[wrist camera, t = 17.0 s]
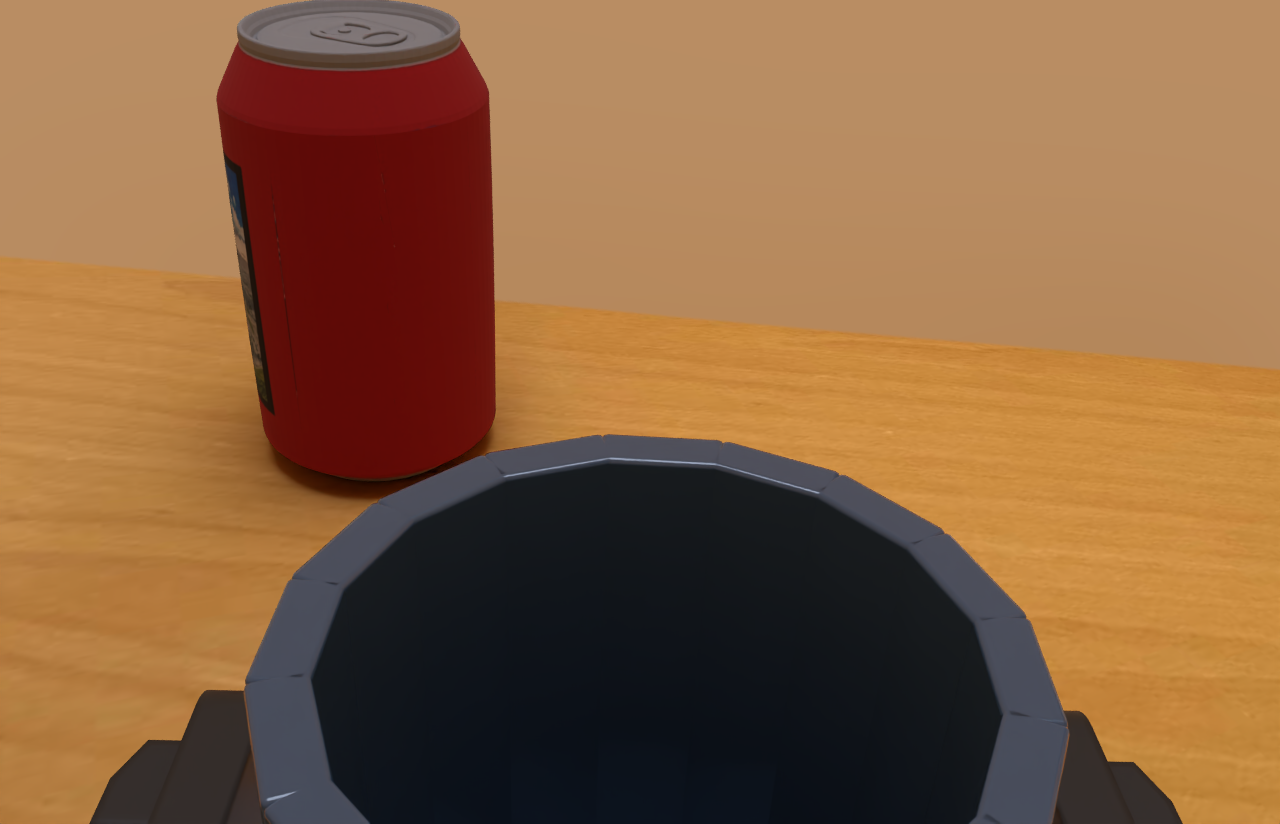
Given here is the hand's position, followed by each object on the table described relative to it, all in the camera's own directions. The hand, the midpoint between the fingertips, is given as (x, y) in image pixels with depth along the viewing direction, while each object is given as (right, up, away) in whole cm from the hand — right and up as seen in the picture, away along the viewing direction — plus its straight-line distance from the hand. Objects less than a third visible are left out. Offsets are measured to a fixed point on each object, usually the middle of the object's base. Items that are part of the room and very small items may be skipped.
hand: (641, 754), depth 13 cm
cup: (0, -7, +2) cm, 7 cm away
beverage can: (-8, +3, +23) cm, 24 cm away
